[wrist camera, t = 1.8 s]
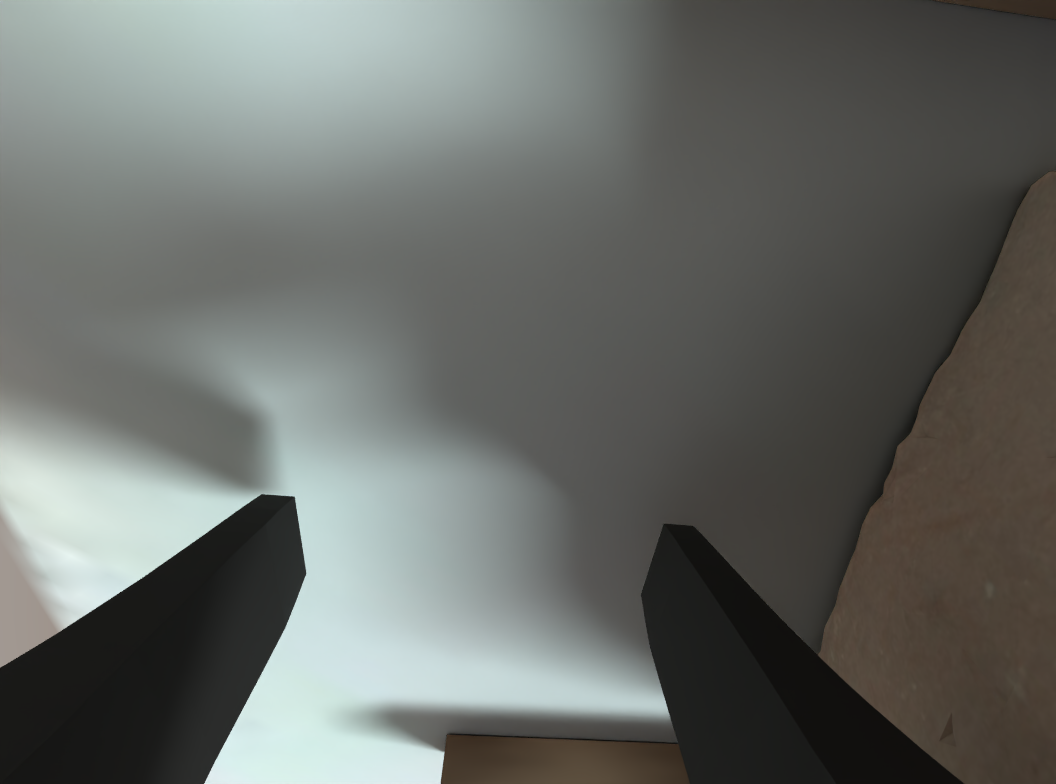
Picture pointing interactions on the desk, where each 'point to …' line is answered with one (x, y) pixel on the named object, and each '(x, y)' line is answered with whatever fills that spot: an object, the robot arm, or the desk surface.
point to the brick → (970, 539)
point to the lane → (606, 766)
